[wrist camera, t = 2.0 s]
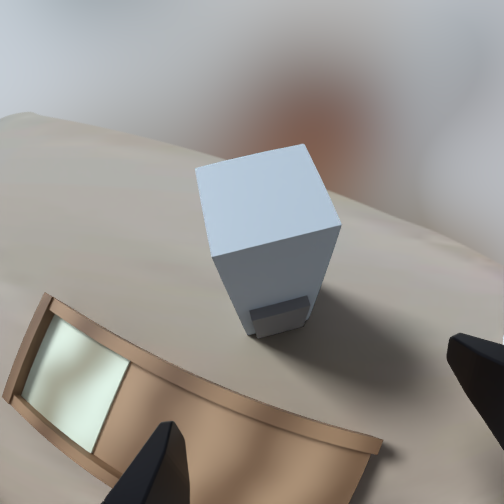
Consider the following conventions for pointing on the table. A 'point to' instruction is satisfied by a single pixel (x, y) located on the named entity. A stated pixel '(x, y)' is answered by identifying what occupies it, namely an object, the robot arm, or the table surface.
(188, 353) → the table surface
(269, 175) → the pale blue tall block
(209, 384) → the rail board
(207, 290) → the table surface
